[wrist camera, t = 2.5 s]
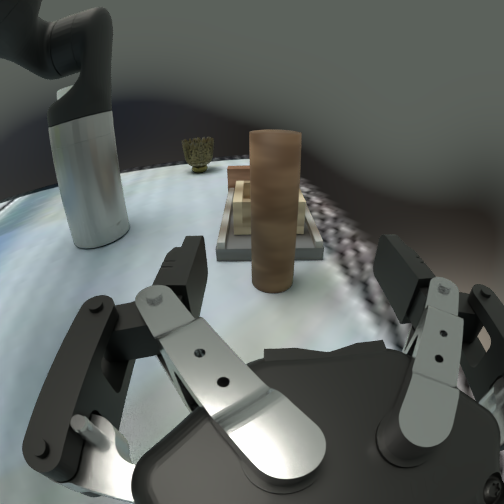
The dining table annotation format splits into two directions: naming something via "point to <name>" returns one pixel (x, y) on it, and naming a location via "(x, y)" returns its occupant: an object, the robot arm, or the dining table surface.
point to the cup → (198, 153)
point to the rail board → (240, 245)
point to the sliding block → (244, 210)
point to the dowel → (274, 207)
